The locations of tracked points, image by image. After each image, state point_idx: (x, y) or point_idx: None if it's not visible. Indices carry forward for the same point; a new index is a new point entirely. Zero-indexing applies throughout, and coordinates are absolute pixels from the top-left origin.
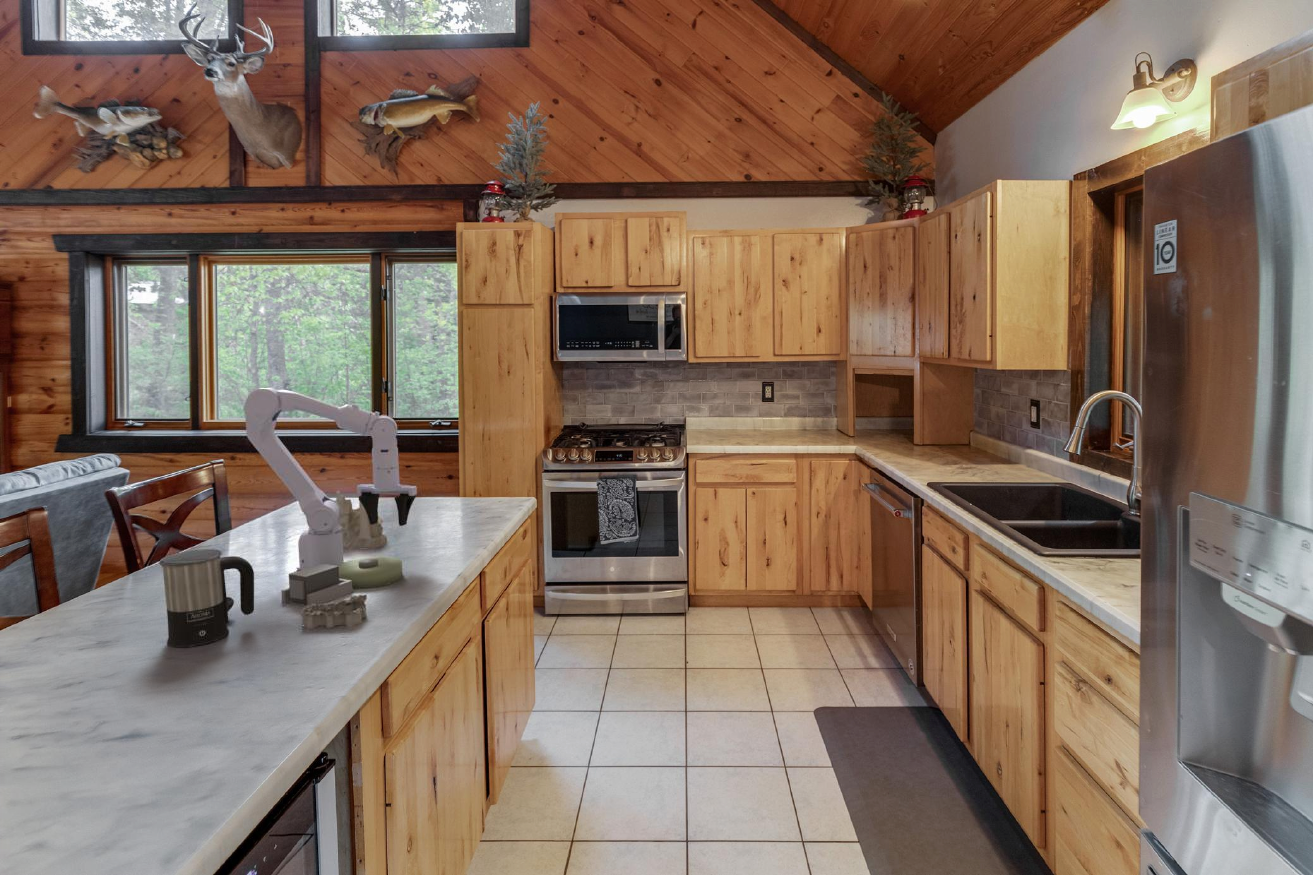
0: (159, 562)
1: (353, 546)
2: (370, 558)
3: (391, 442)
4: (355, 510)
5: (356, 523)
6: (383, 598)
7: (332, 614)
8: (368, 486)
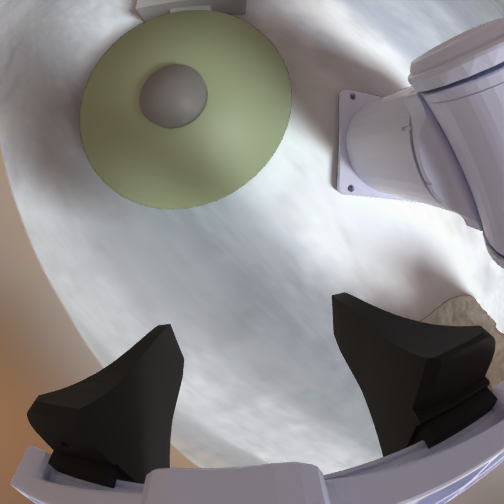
0: None
1: (429, 320)
2: (237, 166)
3: None
4: None
5: None
6: (60, 45)
7: None
8: (470, 473)
